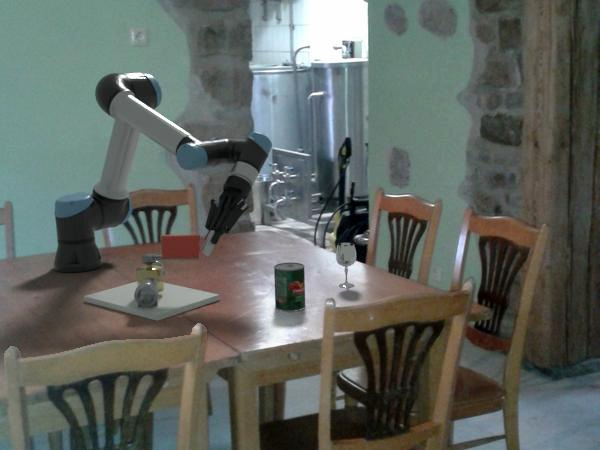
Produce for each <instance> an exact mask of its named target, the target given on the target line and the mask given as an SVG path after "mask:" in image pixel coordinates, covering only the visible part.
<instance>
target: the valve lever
mask: <svg viewBox="0 0 600 450" xmlns="http://www.w3.org/2000/svg"><path fill="white" fill-rule="evenodd" d="M160 236H161V238H160V239H161V254H154V253H147V254H142V255H141V262H142V264H145V265H146V264H151V263H155V262H156V261H161V260H162V261H168V260H169V261H170V260H171V261H173V260H174V261H175V260H176V261H177V260H179V261H188V260H189V261H191V260H192V261H193V260H194V261H197V260H198V261H199V260H201V258H202V257H201V256H202V255H201V252H202V251H201V237H200V236H201V235H200V234H162V235H160Z"/></svg>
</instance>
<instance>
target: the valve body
mask: <svg viewBox="0 0 600 450" xmlns="http://www.w3.org/2000/svg"><path fill="white" fill-rule="evenodd" d="M165 271H166V270H165V266H164V264H163V263H162V262H160V260H156V262H155V263H151V264H145V265H144V266H140V267H138V268H136V282H137V288H136V290H135V293H134V298H135V300H136V302H137V303H138V307H149V306H158V303H159V302H158V292H161V291H163V290H164V283H165V282H164V275H165Z"/></svg>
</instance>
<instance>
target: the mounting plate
mask: <svg viewBox="0 0 600 450" xmlns="http://www.w3.org/2000/svg"><path fill="white" fill-rule="evenodd" d="M136 288H137V281H134V282H131V283H128V284H127V283H126V284H123V285H119V286H115V287H112V288H108V289H105V290H102V291H98V292H94V293H90V294H87V295H84V296H83V301H84V302H85V303H89V304H93V305H96V306H100V307H104V308H108V309H112V310H114V311H119V312H121V313H122V312H123V313H127V314H130V315H135V316H138V317H141V318H144V319H148V320H149V319H150V320H152V321H153V320H154V321H157V322H158V321H160V320H161V321H162V320H164V319H166V318H170V317H172V316H175V315H178V314H182V313H185V312H188V311H191V310H193V309H196V308H201V307H202V306H206V305H208V304H212V303H215V302H218V301H220V294H217V293H213V292H209V291H204V290H200V289H196V288H190V287H186V286H185V287H184V286H182V285H176V284H174V283H173V284H172V283H167V282H164V290H163V291H161V292H158V302H159V303H158V306H149V307H138V303H137V302H136V300H135V298H134V293H135V290H136Z"/></svg>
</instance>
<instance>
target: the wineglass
mask: <svg viewBox="0 0 600 450" xmlns="http://www.w3.org/2000/svg"><path fill="white" fill-rule="evenodd" d="M335 260H336V263H337V264H338V265H339V266H341V267H344V275H345V281H344V282H343V283H339V284H338V288H344V287H345V288H344V289H346V288H347V289H350V288H354V287H355V284H353V283H352V282H351V283H349V281H348V272H349V268H348V267H351V266H353V265H354V264H355V263H356V261H357V250H356V247H355V244H354V243H353V242H340V243H338V244H337V246H336V251H335ZM349 287H350V288H349Z"/></svg>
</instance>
